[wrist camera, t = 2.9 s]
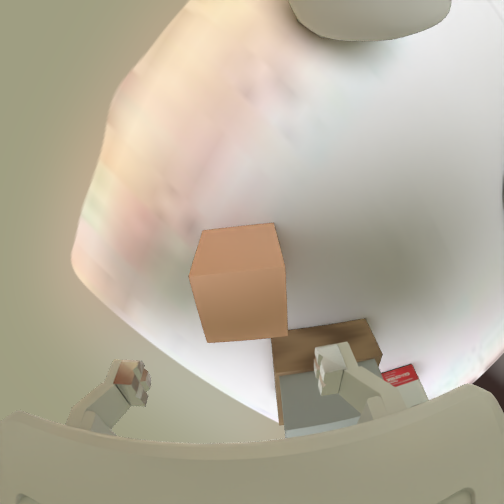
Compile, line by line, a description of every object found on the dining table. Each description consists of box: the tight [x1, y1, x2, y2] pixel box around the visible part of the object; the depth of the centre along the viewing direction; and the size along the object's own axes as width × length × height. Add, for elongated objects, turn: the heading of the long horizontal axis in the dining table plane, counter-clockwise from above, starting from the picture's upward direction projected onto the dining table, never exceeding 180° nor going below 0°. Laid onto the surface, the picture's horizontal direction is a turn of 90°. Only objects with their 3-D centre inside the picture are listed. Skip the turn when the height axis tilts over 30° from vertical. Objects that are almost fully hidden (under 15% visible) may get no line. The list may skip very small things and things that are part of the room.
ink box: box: [381, 364, 429, 409], centre depth 25 cm, size 8×5×12 cm, turn 9°
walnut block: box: [271, 318, 383, 425], centre depth 24 cm, size 9×10×5 cm
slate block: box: [279, 358, 383, 438], centre depth 20 cm, size 8×9×5 cm
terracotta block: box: [188, 223, 288, 343], centre depth 18 cm, size 5×5×6 cm
